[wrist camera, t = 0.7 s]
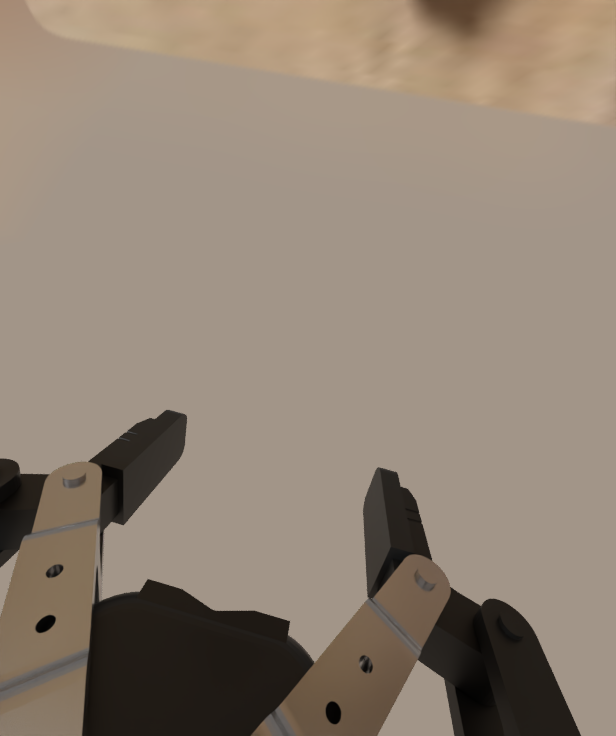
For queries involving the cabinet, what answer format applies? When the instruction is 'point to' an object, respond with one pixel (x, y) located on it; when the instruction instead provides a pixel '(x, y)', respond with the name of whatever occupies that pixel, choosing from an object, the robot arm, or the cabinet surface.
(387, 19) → the cabinet surface
